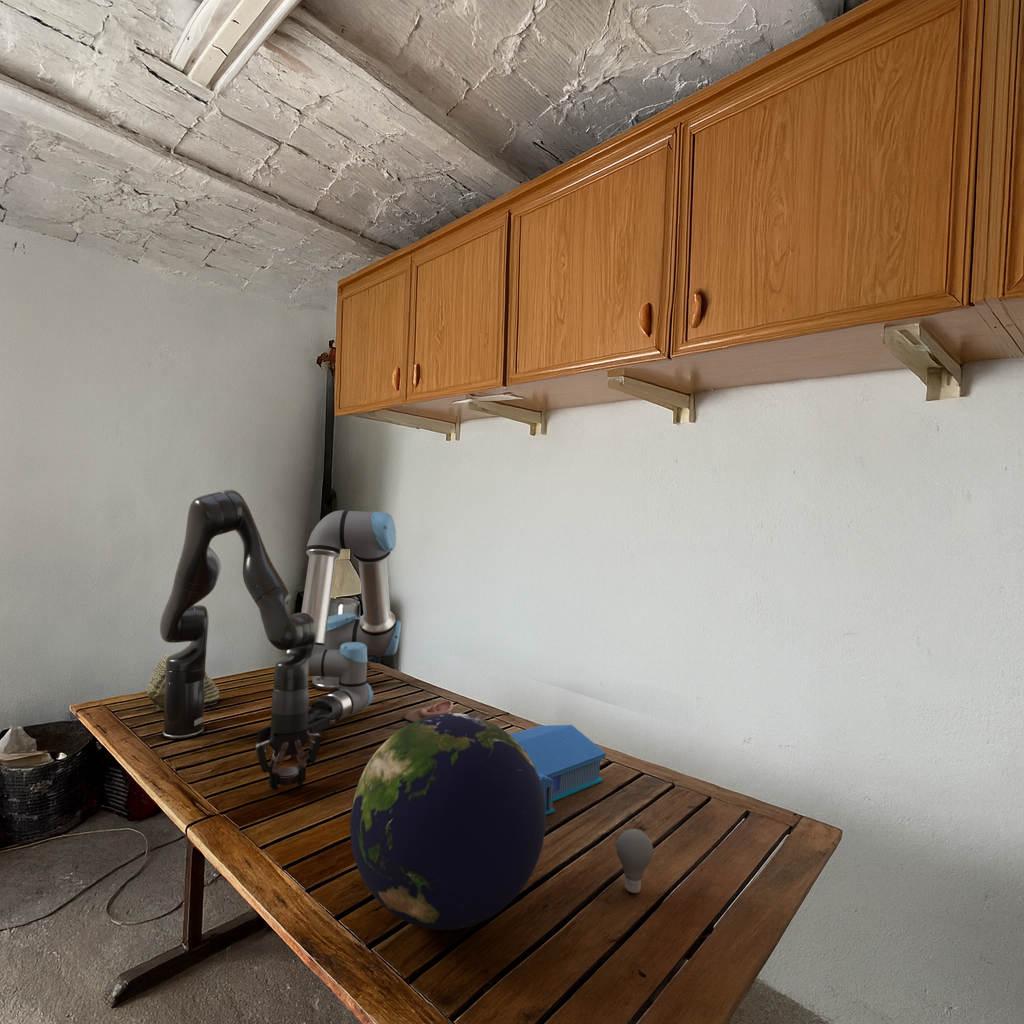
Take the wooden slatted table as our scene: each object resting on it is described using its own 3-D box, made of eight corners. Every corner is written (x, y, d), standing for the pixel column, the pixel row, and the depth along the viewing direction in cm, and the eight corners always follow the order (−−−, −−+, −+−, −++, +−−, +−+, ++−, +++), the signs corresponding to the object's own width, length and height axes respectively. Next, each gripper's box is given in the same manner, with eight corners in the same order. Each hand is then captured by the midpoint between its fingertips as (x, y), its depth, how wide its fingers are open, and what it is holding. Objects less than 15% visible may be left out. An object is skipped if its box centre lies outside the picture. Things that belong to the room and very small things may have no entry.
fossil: (144, 707, 182) (145, 655, 182) (212, 696, 194) (213, 647, 194) (151, 716, 175) (153, 662, 175) (221, 703, 188) (223, 653, 188)
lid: (295, 786, 134) (295, 776, 134) (272, 785, 134) (272, 775, 133) (302, 776, 139) (302, 766, 139) (279, 775, 138) (279, 766, 138)
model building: (482, 842, 118) (484, 789, 118) (409, 793, 137) (411, 747, 136) (614, 785, 145) (616, 742, 145) (538, 751, 163) (540, 712, 163)
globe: (302, 941, 90) (310, 732, 90) (412, 840, 118) (419, 680, 117) (494, 1014, 79) (505, 776, 78) (565, 883, 107) (574, 707, 106)
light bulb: (610, 879, 108) (613, 822, 108) (644, 879, 109) (647, 822, 109) (619, 902, 102) (622, 840, 102) (655, 901, 103) (658, 840, 103)
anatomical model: (400, 707, 180) (414, 695, 191) (399, 721, 180) (414, 708, 191) (445, 712, 177) (456, 700, 189) (444, 726, 177) (456, 713, 189)
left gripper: (259, 718, 129) (256, 801, 129) (328, 707, 137) (325, 785, 137) (251, 707, 135) (248, 786, 135) (317, 697, 143) (315, 772, 143)
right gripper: (356, 728, 166) (295, 761, 144) (303, 717, 172) (237, 747, 151) (358, 700, 166) (297, 728, 144) (304, 690, 172) (238, 716, 151)
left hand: (287, 785), depth 136 cm, fingers closed on lid, 4 cm apart
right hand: (266, 738), depth 148 cm, fingers closed on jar, 4 cm apart
